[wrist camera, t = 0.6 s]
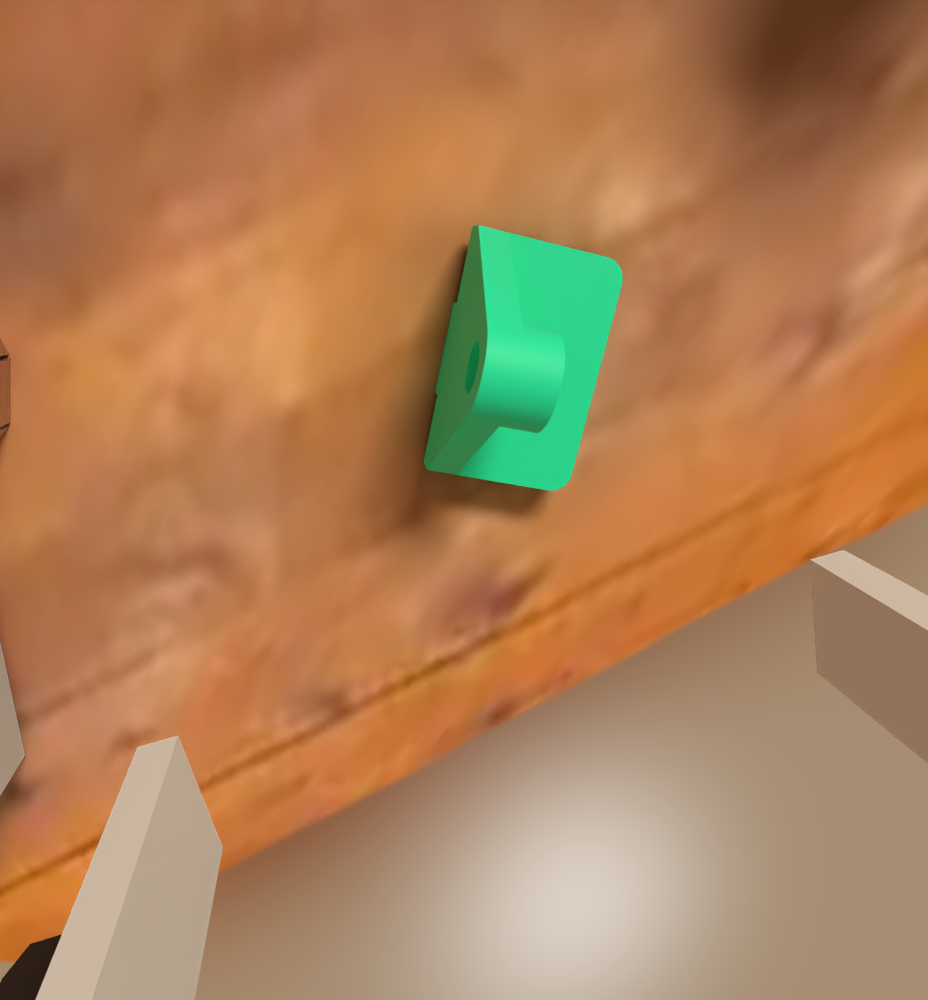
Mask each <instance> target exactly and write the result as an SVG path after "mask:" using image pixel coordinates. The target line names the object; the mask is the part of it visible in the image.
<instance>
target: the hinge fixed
mask: <svg viewBox="0 0 928 1000" xmlns="http://www.w3.org/2000/svg"><path fill="white" fill-rule="evenodd" d="M7 354H8V352H7V350H6V348H5V347H4V345H3V343H2V342H1V340H0V438H1V437H2V436H3V434H4V433H5V431H6V430H7V428H8V427H9V426H7V425H6V424H8V423H10V358H2V356H5V355H7Z"/></svg>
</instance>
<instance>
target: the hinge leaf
mask: <svg viewBox="0 0 928 1000" xmlns="http://www.w3.org/2000/svg"><path fill="white" fill-rule="evenodd" d="M24 756H25V752H24V748H23V743H22V739H21V734H20V729H19V725H18V720H17V716H16V711H15V707H14V702H13V697H12V693H11V688H10V684H9V679H8V675H7V670H6V665H5V661H4V656H3V652H2V647H1V643H0V795H1V794H2V792H3V790H4V789H5V787H6V786H7V784H8V782H9V781H10V779H11V778H12V776H13V774H14V773H15V771H16V769H17V768H18V766H19V765H20V763H21V761H22V760H23V758H24Z"/></svg>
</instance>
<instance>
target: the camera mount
mask: <svg viewBox="0 0 928 1000" xmlns="http://www.w3.org/2000/svg"><path fill="white" fill-rule="evenodd" d="M622 281H623V276H622V271H621V268H620V267H619V265H618V264H617V263H616V262H615V261H614V260H613V259H611V258H608V257H604V256H600V255H596V254H592V253H588V252H584V251H580V250H576V249H572V248H568V247H564V246H560V245H556V244H552V243H548V242H544V241H540V240H536V239H532V238H528V237H524V236H520V235H516V234H512V233H508V232H504V231H500V230H496V229H492V228H488V227H484V226H480V225H477V226H473V227H472V231H471V236H470V241H469V246H468V251H467V255H466V260H465V265H464V270H463V275H462V279H461V284H460V289H459V294H458V299H457V303H455V302H454V303H453V308H452V313H451V317H450V322H449V327H448V332H447V337H446V341H445V346H444V351H443V356H442V361H441V366H440V370H439V375H438V380H437V385H436V390H435V393H436V394H437V399H436V404H435V409H434V414H433V418H432V423H431V428H430V433H429V438H428V442H427V447H426V452H425V457H424V462H423V463H424V465H425V467H426V469H427V470H430V471H436V472H442V473H448V474H454V475H460V476H466V477H472V478H477V479H483V480H489V481H495V482H501V483H507V484H513V485H519V486H525V487H531V488H537V489H543V490H549V491H552V490H557V489H560V488H562V487H563V486H564V485H566V484H567V482H568V481H569V479H570V478H571V475H572V471H573V468H574V464H575V460H576V456H577V452H578V449H579V445H580V441H581V437H582V434H583V430H584V426H585V422H586V418H587V415H588V411H589V407H590V403H591V400H592V396H593V392H594V388H595V384H596V381H597V377H598V373H599V369H600V365H601V362H602V358H603V354H604V350H605V347H606V343H607V339H608V335H609V331H610V328H611V324H612V320H613V316H614V313H615V309H616V305H617V301H618V297H619V294H620V290H621V286H622Z"/></svg>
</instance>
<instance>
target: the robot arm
mask: <svg viewBox="0 0 928 1000" xmlns="http://www.w3.org/2000/svg"><path fill="white" fill-rule="evenodd" d="M810 564H811V579H812V596H813V613H814V629H815V645H816V661H817V672H818V673H819V674H820V675H821V676H822V677H824V678H825V679H826V680H827V681H829V682H830V683H831V684H832V685H833V686H835V687H836V688H837V689H838V690H839V691H841V692H842V693H843V694H844V695H845V696H847V697H848V698H849V699H850V700H852V701H853V702H854V703H855V704H856V705H858V706H859V707H860V708H861V709H862V710H864V711H865V712H866V713H867V714H869V715H870V716H871V717H872V718H873V719H875V720H876V721H877V722H878V723H879V724H881V725H882V726H883V727H884V728H886V729H887V730H888V731H889V732H890V733H891V734H893V735H894V736H895V737H896V738H898V739H899V740H900V741H901V742H902V743H904V744H905V745H906V746H907V747H908V748H910V749H911V750H912V751H914V752H915V753H916V754H917V755H918V756H919V757H921V758H922V759H923V760H924V761H925V762H927V763H928V596H927V595H925V594H923V593H921V592H920V591H918V590H916V589H914V588H913V587H911V586H909V585H907V584H905V583H903V582H902V581H900V580H898V579H896V578H894V577H892V576H891V575H889V574H887V573H885V572H883V571H881V570H880V569H878V568H876V567H873V566H872V565H870V564H868V563H867V562H865V561H863V560H861V559H859V558H857V557H856V556H854V555H852V554H850V553H848V552H846V551H845V550H843V551H839V552H835V553H832V554H828V555H825V556H821V557H817V558H814V559H810ZM222 849H223V846H222V844H221V841H220V839H219V836H218V834H217V831H216V829H215V826H214V824H213V822H212V819H211V817H210V814H209V812H208V809H207V807H206V804H205V802H204V799H203V797H202V794H201V792H200V789H199V787H198V784H197V782H196V779H195V777H194V774H193V772H192V769H191V767H190V764H189V762H188V759H187V757H186V754H185V752H184V749H183V747H182V744H181V742H180V739H179V737H178V736H175V737H171V738H168V739H164V740H161V741H157V742H153V743H150V744H146V745H143V746H139V747H137V750H136V752H135V755H134V757H133V760H132V762H131V765H130V767H129V769H128V772H127V774H126V777H125V779H124V782H123V784H122V787H121V789H120V792H119V794H118V797H117V799H116V802H115V804H114V807H113V809H112V812H111V814H110V817H109V819H108V821H107V824H106V826H105V829H104V831H103V834H102V836H101V839H100V841H99V844H98V846H97V849H96V851H95V854H94V856H93V859H92V861H91V864H90V866H89V869H88V871H87V874H86V876H85V878H84V881H83V883H82V886H81V888H80V891H79V893H78V896H77V898H76V901H75V903H74V906H73V908H72V911H71V913H70V916H69V918H68V921H67V923H66V926H65V928H64V930H63V933H62V935H59V936H55V937H52V938H49V939H45V940H42V941H39V942H35V943H32V944H30V945H29V946H28V947H27V949H26V950H25V951H24V952H23V954H22V955H21V956H20V957H19V959H18V960H17V961H16V962H15V964H14V965H13V966H12V967H11V969H10V970H9V971H8V972H7V974H6V975H5V976H4V977H3V978H2V981H1V982H0V1000H195V995H196V988H197V984H198V979H199V973H200V968H201V962H202V957H203V952H204V946H205V941H206V935H207V930H208V925H209V919H210V913H211V908H212V903H213V897H214V892H215V887H216V882H217V876H218V871H219V866H220V860H221V855H222Z"/></svg>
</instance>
